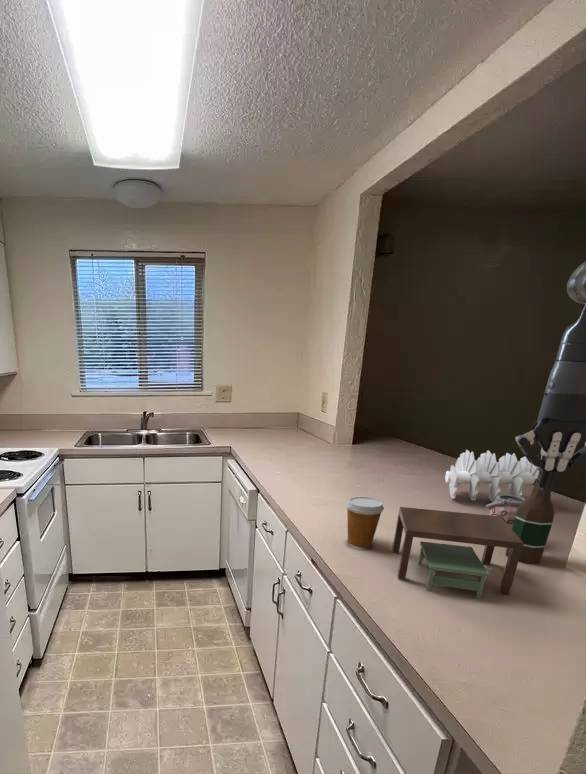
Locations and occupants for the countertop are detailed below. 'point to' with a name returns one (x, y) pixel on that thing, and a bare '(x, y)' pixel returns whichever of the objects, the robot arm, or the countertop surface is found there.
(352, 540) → the disposable coffee cup
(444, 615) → the countertop surface
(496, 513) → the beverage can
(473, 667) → the countertop surface
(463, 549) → the stool
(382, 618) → the countertop surface
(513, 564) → the side table
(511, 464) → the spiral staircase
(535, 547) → the beer bottle
